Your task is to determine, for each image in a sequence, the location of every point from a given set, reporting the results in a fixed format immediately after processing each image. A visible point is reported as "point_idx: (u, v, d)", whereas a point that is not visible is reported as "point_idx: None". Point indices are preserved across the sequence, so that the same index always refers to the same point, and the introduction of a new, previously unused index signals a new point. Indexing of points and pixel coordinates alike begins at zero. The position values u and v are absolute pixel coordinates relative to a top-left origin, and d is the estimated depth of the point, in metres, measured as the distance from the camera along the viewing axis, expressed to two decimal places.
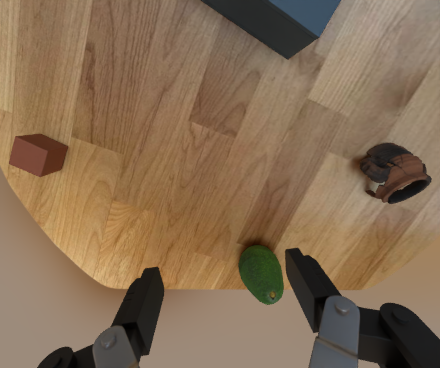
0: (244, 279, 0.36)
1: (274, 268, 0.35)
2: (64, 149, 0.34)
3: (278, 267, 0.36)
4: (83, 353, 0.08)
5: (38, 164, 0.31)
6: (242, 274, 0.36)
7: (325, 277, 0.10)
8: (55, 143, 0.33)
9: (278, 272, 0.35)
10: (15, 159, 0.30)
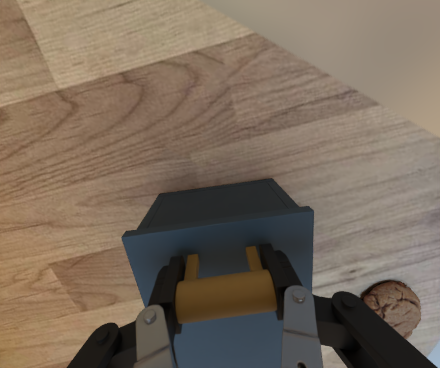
0: None
1: None
2: None
3: None
4: (125, 329, 0.09)
5: None
6: None
7: (291, 270, 0.11)
8: None
9: None
10: None
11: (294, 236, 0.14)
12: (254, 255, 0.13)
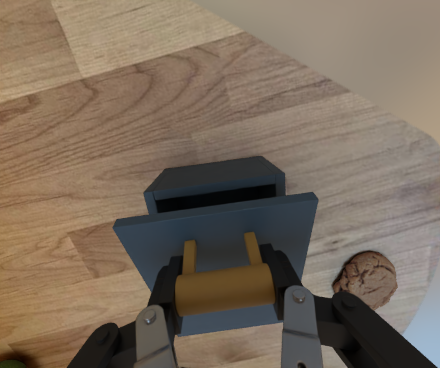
0: None
1: None
2: None
3: None
4: (125, 329, 0.09)
5: None
6: None
7: (291, 270, 0.11)
8: None
9: None
10: None
11: (294, 222, 0.14)
12: (253, 243, 0.13)
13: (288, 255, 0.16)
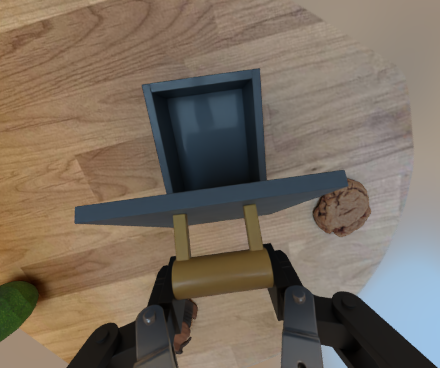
0: None
1: (5, 324, 0.32)
2: None
3: (14, 325, 0.33)
4: (125, 329, 0.09)
5: None
6: None
7: (291, 270, 0.11)
8: None
9: (5, 331, 0.32)
10: None
11: (306, 195, 0.11)
12: (254, 222, 0.11)
13: (285, 204, 0.15)
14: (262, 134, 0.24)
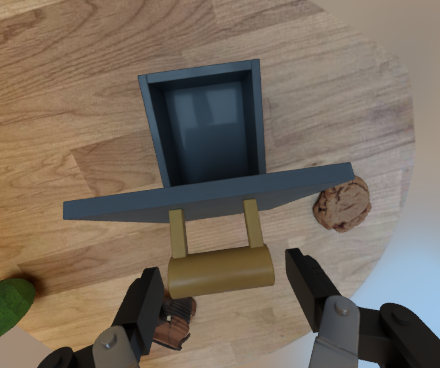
0: None
1: (1, 321, 0.32)
2: None
3: (10, 322, 0.33)
4: (83, 352, 0.08)
5: None
6: None
7: (325, 277, 0.10)
8: None
9: (1, 328, 0.32)
10: None
11: (309, 190, 0.11)
12: (254, 218, 0.11)
13: (286, 199, 0.14)
14: (262, 127, 0.23)
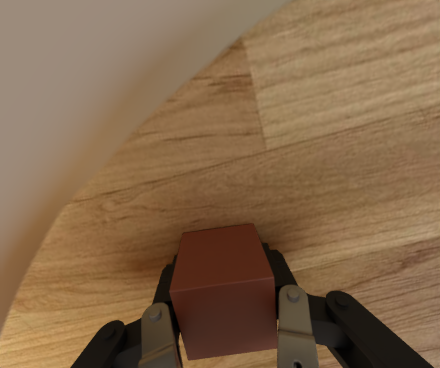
0: None
1: None
2: None
3: None
4: (131, 326, 0.09)
5: (223, 347, 0.10)
6: None
7: (286, 269, 0.11)
8: None
9: None
10: (197, 300, 0.09)
11: None
12: None
13: None
14: None
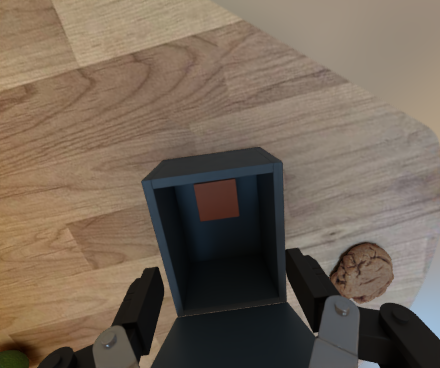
0: None
1: None
2: None
3: None
4: (83, 353, 0.08)
5: (215, 214, 0.23)
6: None
7: (325, 277, 0.10)
8: None
9: None
10: (204, 189, 0.22)
11: None
12: None
13: None
14: (283, 229, 0.20)
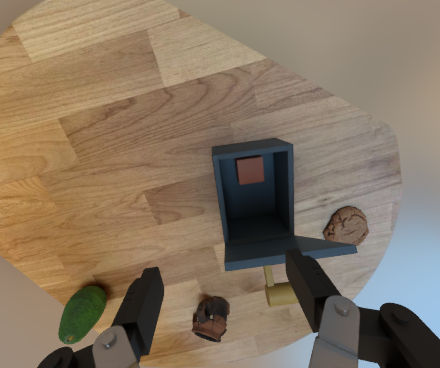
0: (66, 309, 0.42)
1: (92, 319, 0.43)
2: None
3: (96, 320, 0.44)
4: (83, 352, 0.08)
5: (249, 180, 0.37)
6: (69, 304, 0.43)
7: (325, 277, 0.10)
8: None
9: (91, 324, 0.43)
10: (243, 163, 0.36)
11: None
12: None
13: None
14: (292, 186, 0.34)
